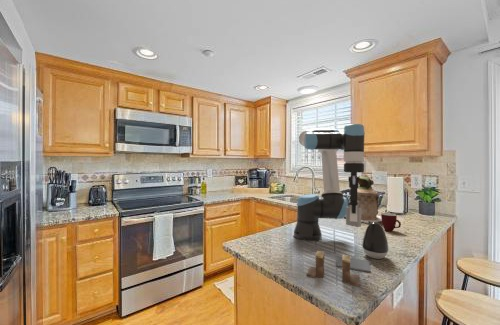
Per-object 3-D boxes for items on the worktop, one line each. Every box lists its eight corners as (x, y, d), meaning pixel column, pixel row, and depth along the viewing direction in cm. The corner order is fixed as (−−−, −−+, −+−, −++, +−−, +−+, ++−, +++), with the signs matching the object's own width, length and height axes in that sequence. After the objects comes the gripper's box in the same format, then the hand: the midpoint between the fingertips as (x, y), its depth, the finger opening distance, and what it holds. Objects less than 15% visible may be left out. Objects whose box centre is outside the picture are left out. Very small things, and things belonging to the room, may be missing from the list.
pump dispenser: (379, 251, 109) (379, 219, 109) (393, 261, 99) (393, 225, 99) (357, 252, 109) (357, 219, 109) (370, 261, 98) (370, 225, 98)
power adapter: (358, 227, 92) (358, 196, 92) (345, 224, 96) (345, 195, 96) (361, 225, 94) (362, 196, 94) (348, 223, 98) (349, 194, 98)
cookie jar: (368, 224, 158) (369, 177, 158) (339, 217, 180) (339, 175, 180) (390, 220, 170) (390, 176, 170) (359, 213, 192) (360, 174, 192)
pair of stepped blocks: (306, 276, 85) (306, 255, 85) (309, 268, 92) (309, 248, 92) (359, 286, 79) (359, 263, 78) (358, 276, 85) (359, 256, 85)
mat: (336, 266, 93) (336, 265, 93) (338, 257, 102) (338, 256, 102) (370, 272, 88) (370, 271, 88) (368, 262, 98) (368, 260, 98)
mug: (402, 231, 142) (402, 215, 142) (399, 234, 136) (399, 217, 136) (383, 228, 149) (383, 212, 149) (379, 230, 144) (379, 214, 144)
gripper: (365, 162, 86) (365, 226, 86) (362, 162, 102) (362, 216, 102) (343, 162, 89) (342, 224, 89) (344, 162, 105) (343, 214, 105)
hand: (353, 219), depth 95 cm, fingers closed on power adapter, 5 cm apart
